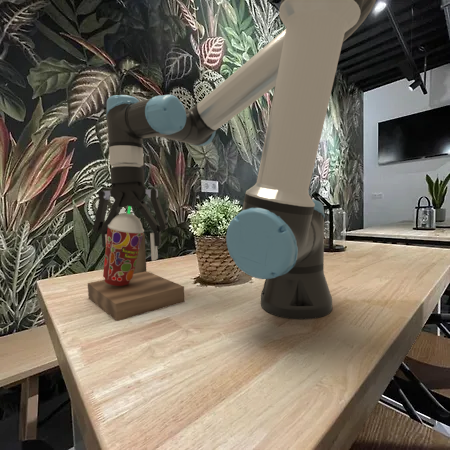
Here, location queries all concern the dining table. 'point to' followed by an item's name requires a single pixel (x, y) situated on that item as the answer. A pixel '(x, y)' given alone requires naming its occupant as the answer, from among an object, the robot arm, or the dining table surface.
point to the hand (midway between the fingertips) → (132, 259)
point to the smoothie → (122, 248)
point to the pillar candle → (141, 258)
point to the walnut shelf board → (135, 295)
